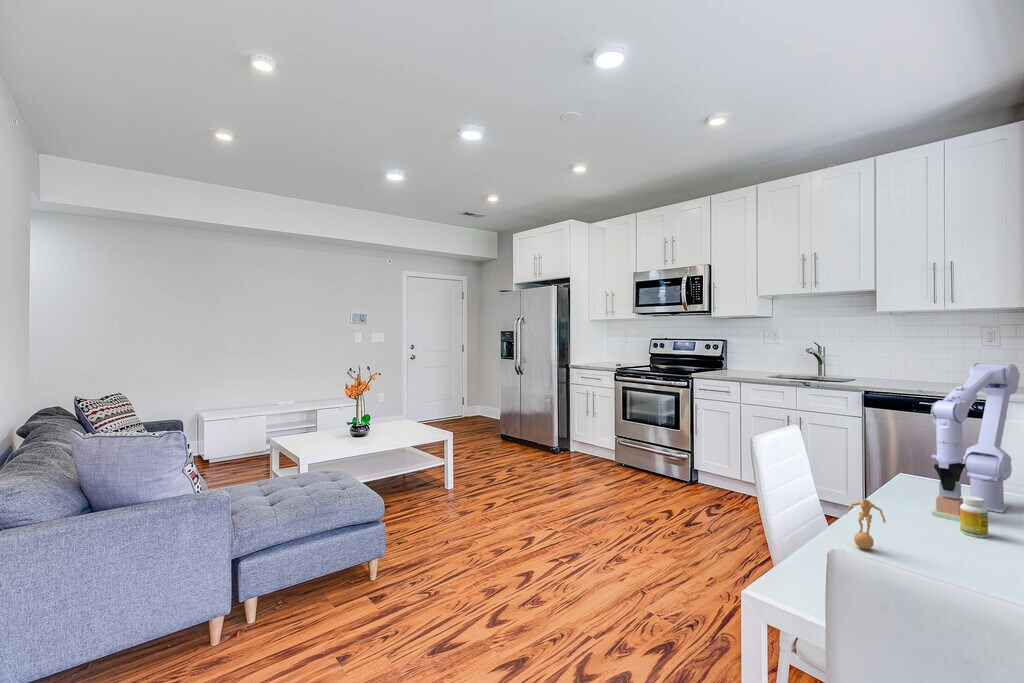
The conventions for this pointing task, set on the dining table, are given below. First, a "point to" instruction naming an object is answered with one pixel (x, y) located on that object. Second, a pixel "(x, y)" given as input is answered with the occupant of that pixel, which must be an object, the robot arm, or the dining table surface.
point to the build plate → (945, 515)
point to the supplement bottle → (973, 517)
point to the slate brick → (954, 494)
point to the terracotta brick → (948, 505)
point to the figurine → (861, 537)
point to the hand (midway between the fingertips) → (950, 489)
